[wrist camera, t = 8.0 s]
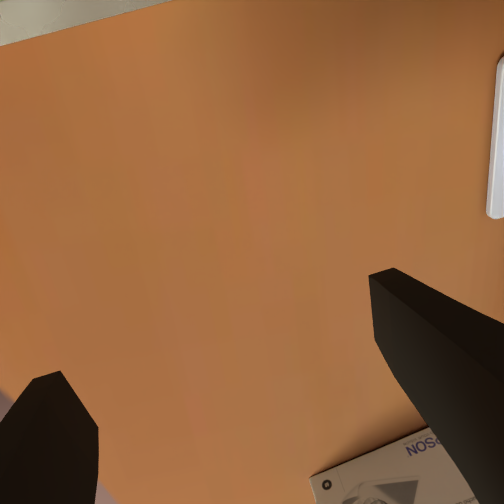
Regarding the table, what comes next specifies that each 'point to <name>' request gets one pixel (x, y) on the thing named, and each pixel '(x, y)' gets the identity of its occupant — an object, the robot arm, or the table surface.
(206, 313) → the table surface
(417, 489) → the ink box
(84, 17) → the grey tray holder
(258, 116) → the table surface
